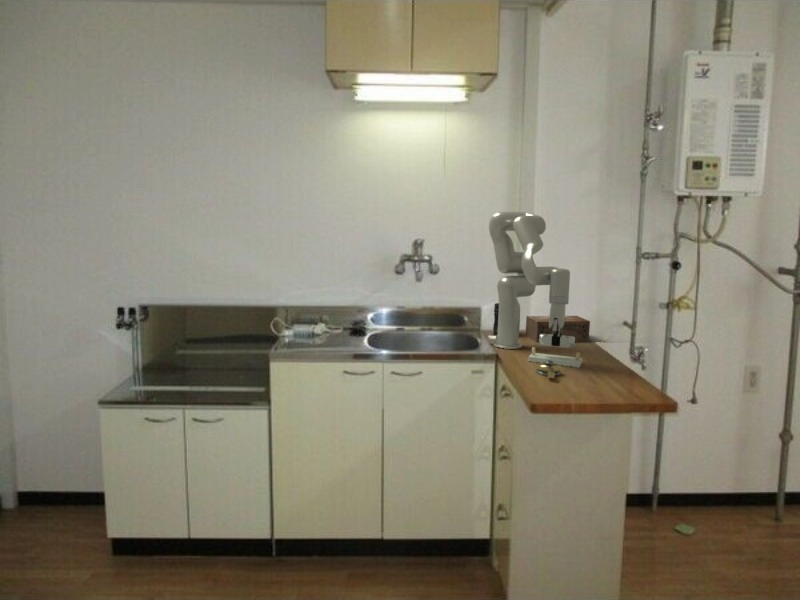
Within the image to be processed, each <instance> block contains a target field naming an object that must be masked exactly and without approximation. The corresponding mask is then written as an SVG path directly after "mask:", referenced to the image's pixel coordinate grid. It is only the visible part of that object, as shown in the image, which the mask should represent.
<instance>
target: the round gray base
mask: <svg viewBox="0 0 800 600" xmlns="http://www.w3.org/2000/svg"><path fill="white" fill-rule="evenodd" d="M535 372H537V373H539V374H542V375H541V376H543V375H547V373H545V372H541V371H539V370H538V368H537V369H536V370H535ZM537 373H536V374H537ZM539 374H538V375H539ZM560 374H562V372H561V370H560V371H559V372H558V373H555V376H554V377H557V376H556V375H559V376H561V375H560Z"/></svg>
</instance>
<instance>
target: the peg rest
mask: <svg viewBox="0 0 800 600" xmlns="http://www.w3.org/2000/svg"><path fill="white" fill-rule="evenodd" d="M527 359H528V361H531V362H530V363H536V362H540V363H543V362H545V361H553V363H555V364H558V365H560V366H562V365H563V366H564V367H570V366H572V368H580V367H581V365H582V363H583V358H582V357H581V352H579V351H578V352H576V353H575V357H573V356H567V355H556V354H548V353H547V354H546V353H541V352H540V353H538V352H536V347H531V354H530V355H529V356H528V358H527Z"/></svg>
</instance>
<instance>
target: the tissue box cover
mask: <svg viewBox="0 0 800 600" xmlns="http://www.w3.org/2000/svg"><path fill="white" fill-rule="evenodd" d="M549 318H550V315H526V319H525V335H526V336H525V337H527V336H528V337H530V338H531V339H530V338H529V339H530V340H532V339H533V340H534V342H535V341H536V343H539V334H552V330H553V327H551V328H549ZM590 327H591V321H590V320H589V319H585V318H584V317H581V316H579V315H565V322H564V326H563V327H562V335H563V336H573V337H575V341H590V340H589V339H590V330H591V329H590ZM528 337H527V338H528ZM533 340H532V341H533Z"/></svg>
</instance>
